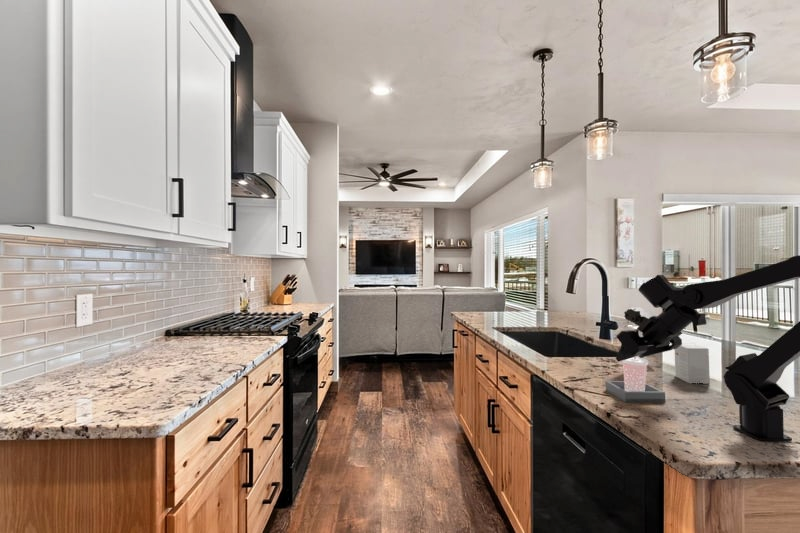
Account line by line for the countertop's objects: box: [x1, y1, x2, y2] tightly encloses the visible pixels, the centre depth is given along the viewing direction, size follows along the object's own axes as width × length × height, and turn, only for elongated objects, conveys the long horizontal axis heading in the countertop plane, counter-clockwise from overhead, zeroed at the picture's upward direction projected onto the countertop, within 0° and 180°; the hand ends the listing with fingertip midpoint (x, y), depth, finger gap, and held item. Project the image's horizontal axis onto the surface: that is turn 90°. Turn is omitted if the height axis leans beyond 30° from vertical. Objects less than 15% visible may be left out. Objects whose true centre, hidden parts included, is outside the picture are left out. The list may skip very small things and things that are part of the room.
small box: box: [674, 342, 711, 385], centre depth 116 cm, size 8×6×10 cm
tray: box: [605, 380, 666, 403], centre depth 102 cm, size 10×10×2 cm
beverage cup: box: [621, 357, 649, 392], centre depth 102 cm, size 6×6×14 cm
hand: (628, 358), depth 104 cm, fingers open, 9 cm apart
